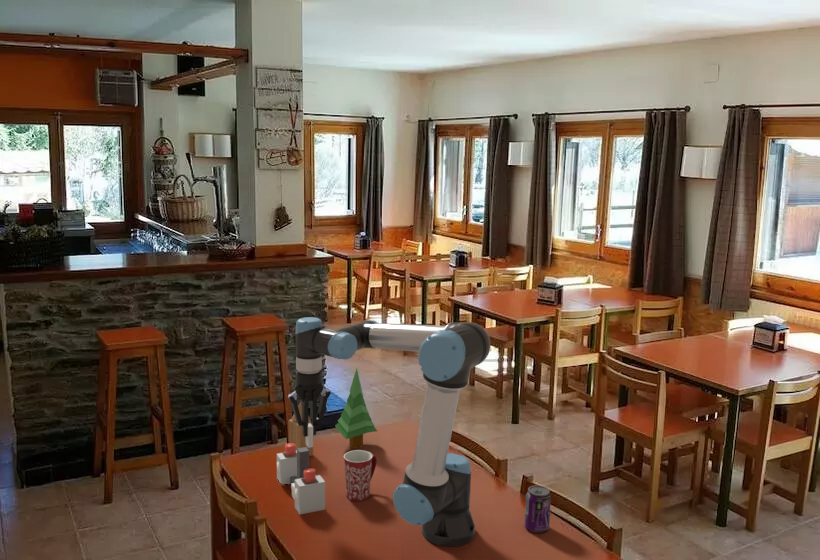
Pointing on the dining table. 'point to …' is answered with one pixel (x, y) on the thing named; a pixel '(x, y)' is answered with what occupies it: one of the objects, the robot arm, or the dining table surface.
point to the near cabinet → (309, 495)
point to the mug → (359, 474)
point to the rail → (292, 479)
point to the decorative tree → (355, 416)
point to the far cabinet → (286, 467)
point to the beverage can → (537, 508)
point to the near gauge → (309, 475)
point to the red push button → (290, 449)
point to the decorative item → (298, 433)
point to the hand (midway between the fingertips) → (309, 445)
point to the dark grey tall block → (301, 465)
